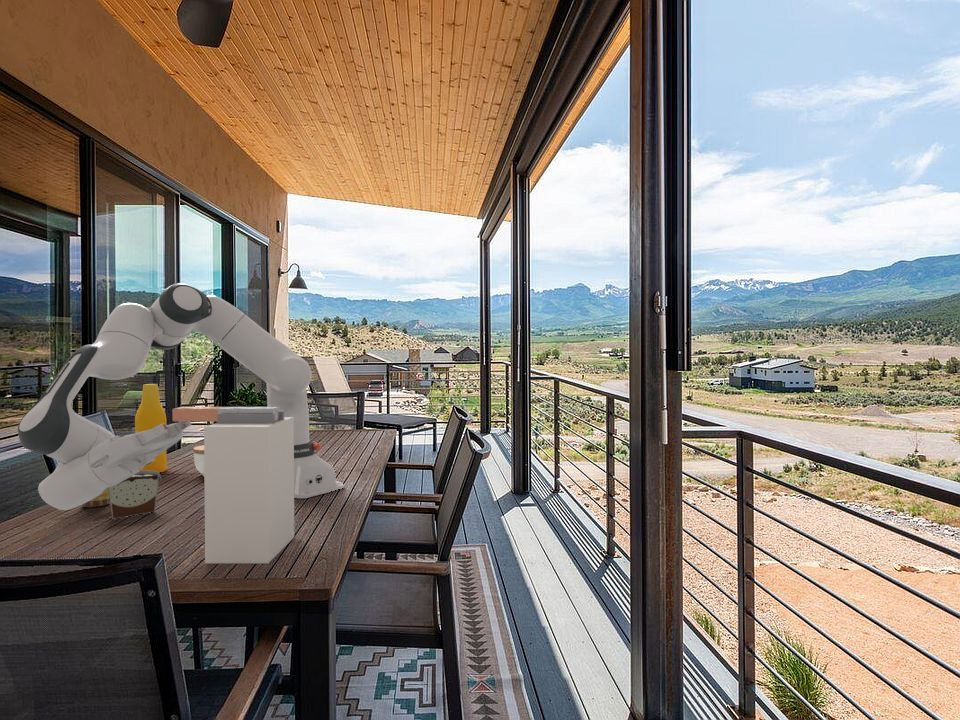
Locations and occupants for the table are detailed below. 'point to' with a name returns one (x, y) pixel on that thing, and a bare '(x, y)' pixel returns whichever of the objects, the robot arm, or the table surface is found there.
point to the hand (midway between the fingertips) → (177, 424)
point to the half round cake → (134, 495)
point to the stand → (248, 487)
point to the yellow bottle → (151, 422)
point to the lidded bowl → (199, 458)
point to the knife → (219, 412)
